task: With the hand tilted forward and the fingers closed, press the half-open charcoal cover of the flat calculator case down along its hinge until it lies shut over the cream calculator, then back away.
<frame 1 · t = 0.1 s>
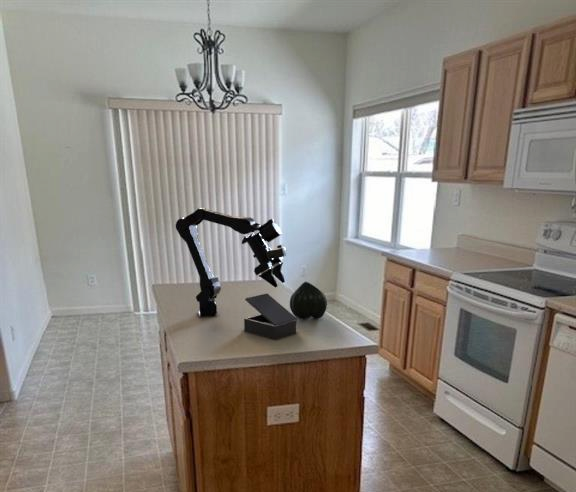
hand: (280, 284, 205), 15 cm above the counter, tool tilted 35°, fingers open, 9 cm apart
cover: (271, 309, 195), point 9 cm above the counter, hinge at 25.0°
squash: (307, 317, 218), on the counter
calculator: (270, 328, 197), in the case, point 1 cm above the counter
case: (270, 331, 198), on the counter
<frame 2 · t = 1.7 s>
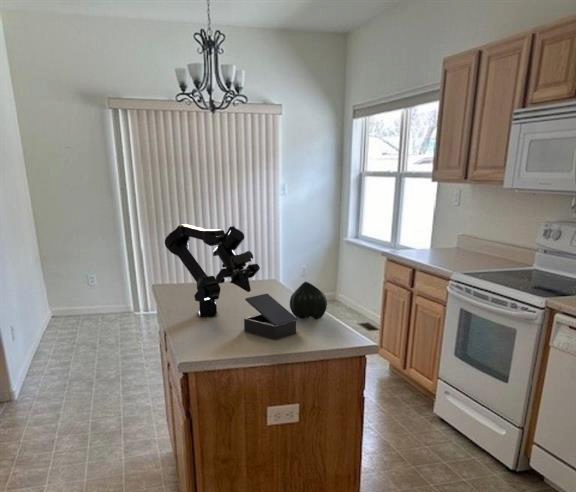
hand: (249, 291, 199), 14 cm above the counter, tool tilted 45°, fingers closed
nothing on the counter moved.
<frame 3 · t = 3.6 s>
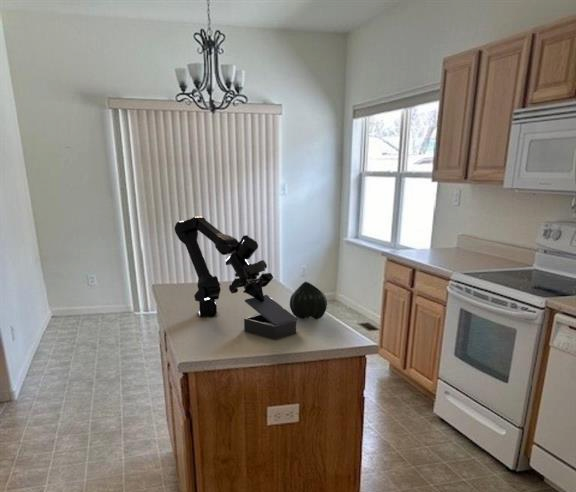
hand: (263, 301, 196), 11 cm above the counter, tool tilted 45°, fingers closed, pressing on cover
cover: (270, 309, 195), point 8 cm above the counter, hinge at 22.8°, touching gripper
everything else where it was.
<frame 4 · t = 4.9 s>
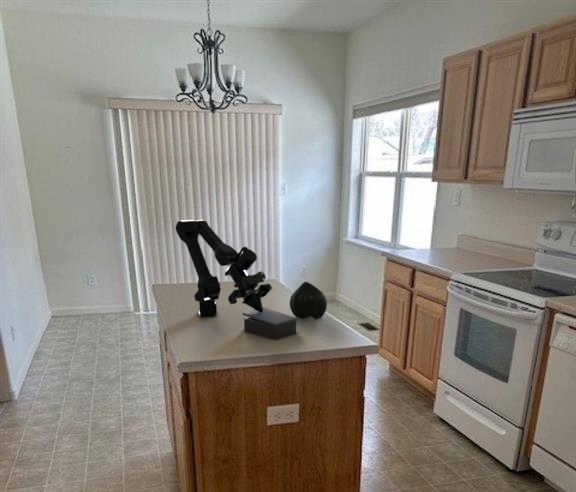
hand: (261, 311, 198), 7 cm above the counter, tool tilted 45°, fingers closed, pressing on cover
cover: (269, 316, 196), point 6 cm above the counter, hinge at 4.1°, touching gripper
everything else where it was.
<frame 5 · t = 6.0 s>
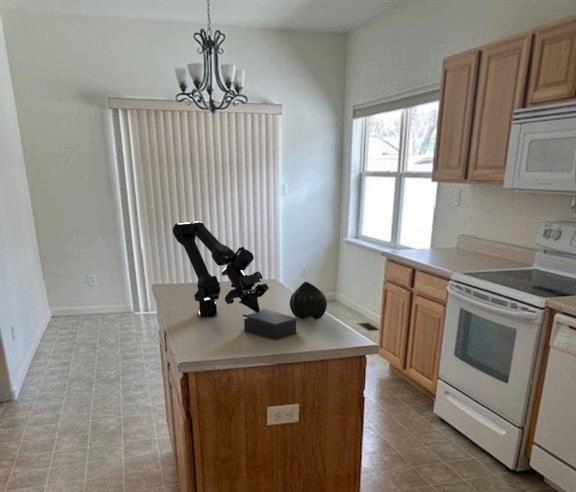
hand: (258, 311, 199), 7 cm above the counter, tool tilted 45°, fingers closed
cover: (269, 317, 196), point 6 cm above the counter, hinge at 2.3°
everything else where it was.
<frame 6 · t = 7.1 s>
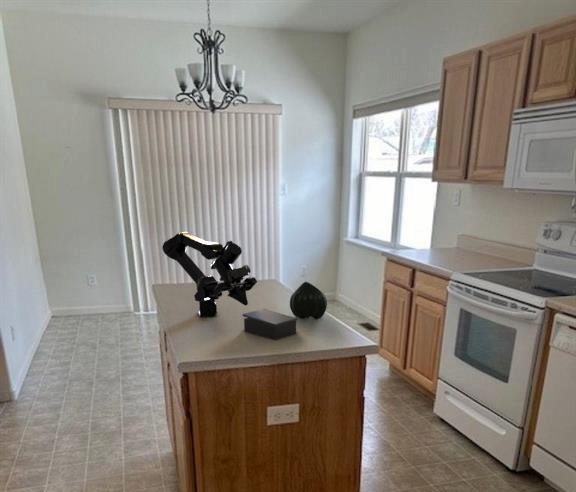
hand: (246, 304, 202), 8 cm above the counter, tool tilted 45°, fingers closed
nothing on the counter moved.
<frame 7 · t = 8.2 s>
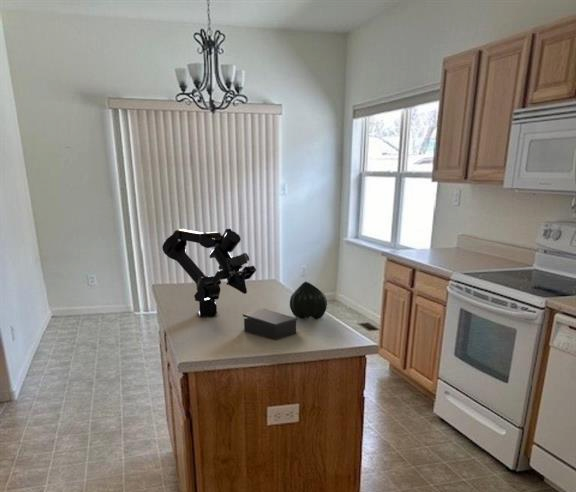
hand: (245, 293, 201), 13 cm above the counter, tool tilted 45°, fingers closed
nothing on the counter moved.
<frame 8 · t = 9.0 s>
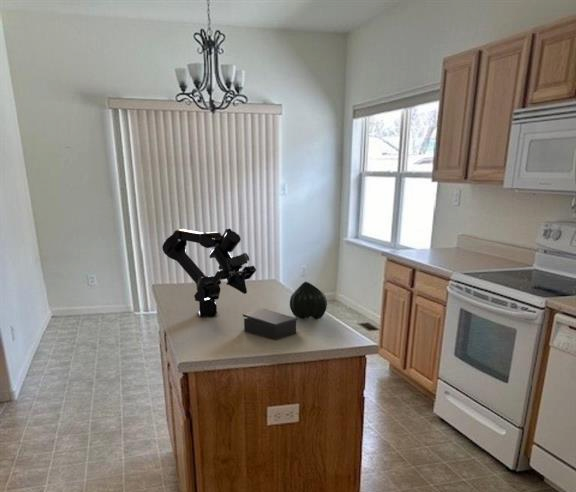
hand: (245, 293, 201), 13 cm above the counter, tool tilted 45°, fingers closed
nothing on the counter moved.
at the end: cover at +2° (first picture: +25°) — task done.
